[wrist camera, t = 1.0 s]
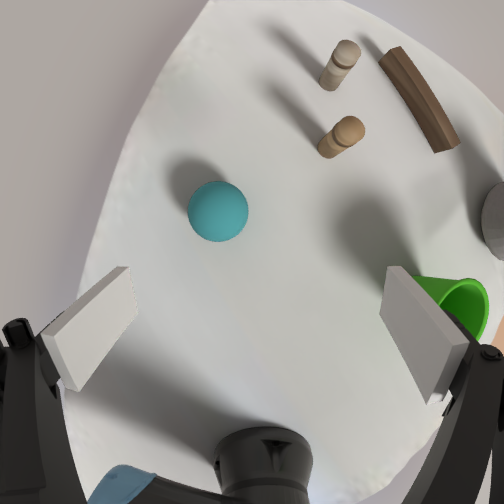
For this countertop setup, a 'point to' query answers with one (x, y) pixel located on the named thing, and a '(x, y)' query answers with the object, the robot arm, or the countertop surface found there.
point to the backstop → (420, 99)
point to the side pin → (339, 64)
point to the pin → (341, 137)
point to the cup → (460, 300)
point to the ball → (218, 211)
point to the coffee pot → (494, 221)
